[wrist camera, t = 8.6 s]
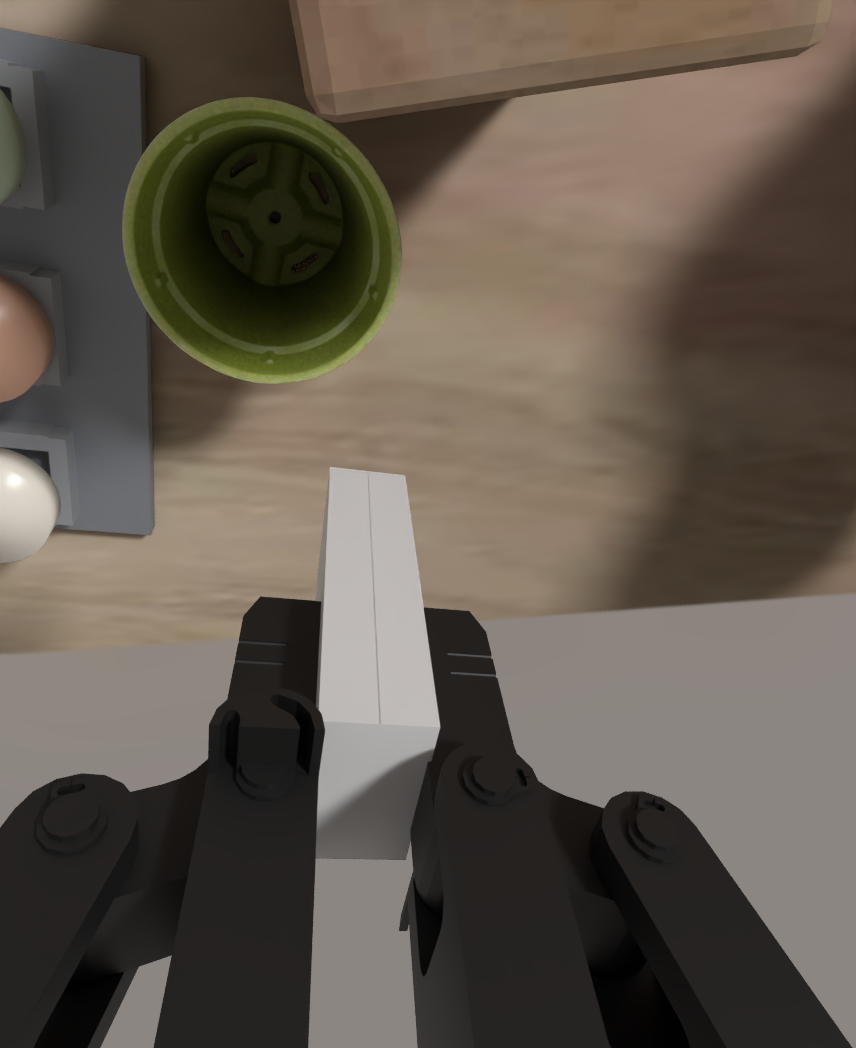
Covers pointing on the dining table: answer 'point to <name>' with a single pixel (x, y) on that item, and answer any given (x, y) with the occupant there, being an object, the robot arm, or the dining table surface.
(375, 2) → the wooden block
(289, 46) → the dining table surface
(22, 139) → the button sage
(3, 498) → the button cream
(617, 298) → the dining table surface
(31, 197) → the console
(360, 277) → the plant pot
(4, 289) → the button terracotta
